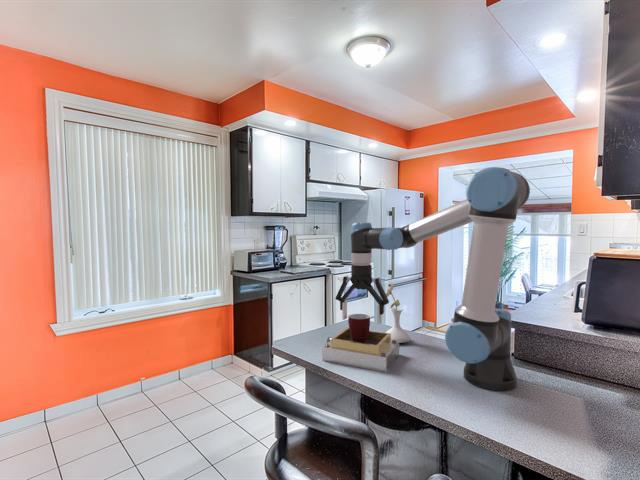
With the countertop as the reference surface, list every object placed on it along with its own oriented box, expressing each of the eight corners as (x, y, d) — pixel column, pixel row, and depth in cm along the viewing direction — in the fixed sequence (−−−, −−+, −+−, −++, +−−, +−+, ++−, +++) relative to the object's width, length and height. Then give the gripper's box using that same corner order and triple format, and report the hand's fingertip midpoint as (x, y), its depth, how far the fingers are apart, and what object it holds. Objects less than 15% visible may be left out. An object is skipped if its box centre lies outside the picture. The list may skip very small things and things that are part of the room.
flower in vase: (393, 335, 154) (393, 280, 154) (415, 341, 146) (415, 283, 145) (375, 341, 146) (375, 283, 145) (398, 348, 137) (398, 286, 136)
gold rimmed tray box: (399, 354, 131) (399, 333, 130) (386, 372, 115) (386, 348, 114) (332, 343, 143) (332, 324, 143) (312, 358, 127) (312, 337, 127)
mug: (379, 345, 125) (378, 318, 125) (361, 349, 121) (361, 322, 121) (361, 338, 134) (360, 312, 134) (344, 341, 130) (344, 315, 130)
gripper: (397, 264, 125) (397, 322, 125) (334, 262, 136) (335, 315, 136) (391, 266, 118) (391, 327, 119) (326, 263, 129) (327, 319, 130)
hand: (361, 321), depth 128 cm, fingers open, 13 cm apart
